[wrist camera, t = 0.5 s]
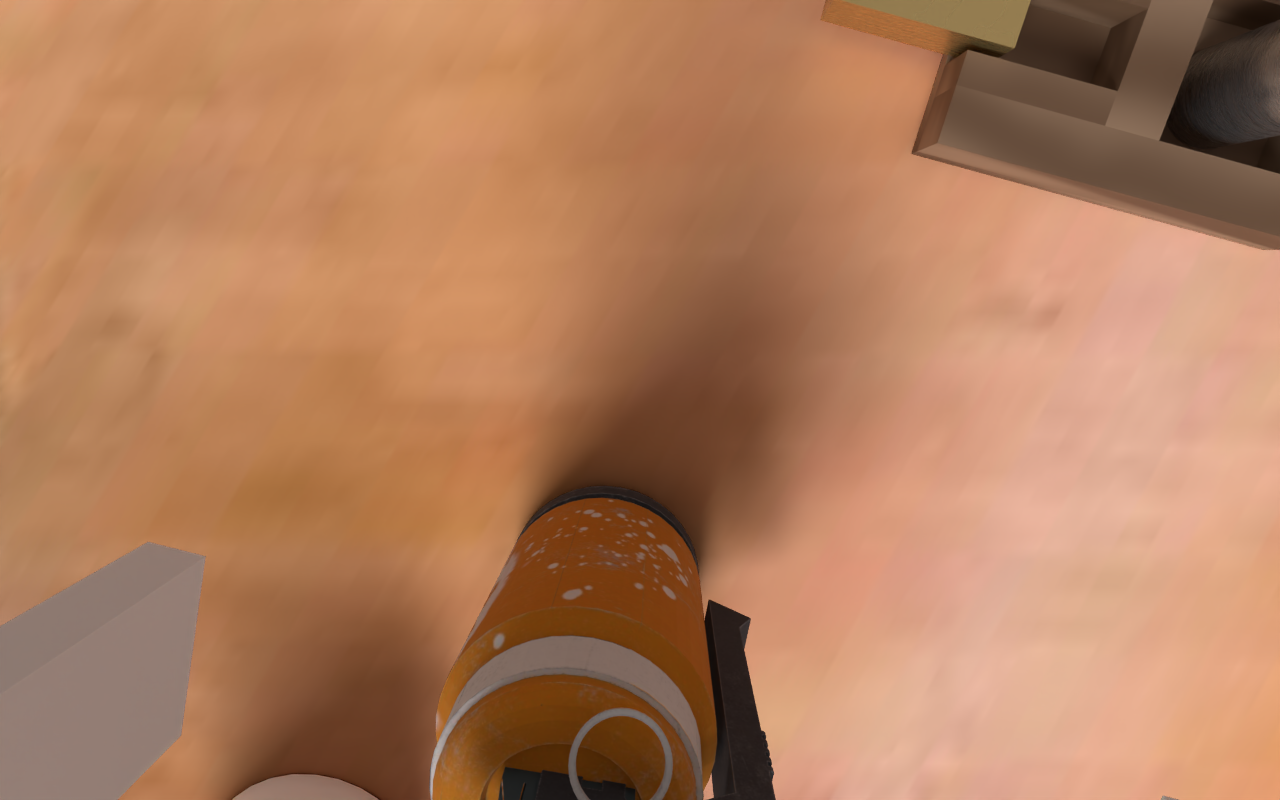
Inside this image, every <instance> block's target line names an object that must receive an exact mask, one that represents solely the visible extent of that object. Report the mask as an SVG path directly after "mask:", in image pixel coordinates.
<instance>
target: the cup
mask: <svg viewBox="0 0 1280 800" xmlns="http://www.w3.org/2000/svg"><path fill="white" fill-rule="evenodd" d="M232 800H379V799H377V798H376V797H374V796H373V795H371V794H369V793H368V792H366V791H365V790H363V789H361V788H359V787H357V786H354V785H352V784H349V783H347V782H344V781H342V780H339V779H335V778H330V777H325V776H320V775H312V774H291V775H285V776H280V777H274V778H270V779H267V780H265V781H262V782H260V783H257V784H255V785H252V786H250V787H249V788H247V789H246V790H245V791H243V792H242V793H240V794H239V795H237V796H236V797H234V798H233V799H232Z"/></svg>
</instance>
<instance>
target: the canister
mask: <svg viewBox="0 0 1280 800" xmlns="http://www.w3.org/2000/svg"><path fill="white" fill-rule="evenodd" d="M750 620H751V618H749V617H747V616H744V615H742V614H740V613H738V612H736V611H733V610H731V609H729V608H727V607H725V606H723V605H720V604H718V603H716V602H714V601H712V600H709V601H708V606H707V611H706V616H705V621H704V613H703V605H702V596H701V588H700V579H699V571H698V563H697V559H696V554H695V550H694V548H693V545H692V543H691V540H690V538H689V536H688V534H687V533H686V531H685V529H684V528H683V526H682V525H681V524H680V522H679V521H678V520H677V519H676V518H675V517H674V515H673V514H672V513H671V512H669V511H668V510H667V509H666V508H665V507H663V506H662V505H661V504H659V503H658V502H656V501H655V500H653V499H651V498H650V497H648V496H645V495H643V494H641V493H638V492H636V491H633V490H629V489H625V488H621V487H612V486H593V487H586V488H581V489H576V490H573V491H571V492H568V493H565V494H563V495H561V496H559V497H557V498H555V499H554V500H552V501H550V502H548V503H547V504H546V505H545V506H544V507H542V508H541V509H540V510H539V511H537V513H536V514H535V515H534V516H533V517H532V518H531V519H530V520H529V522H528V523H527V525H526V526H525V528H524V529H523V531H522V532H521V534H520V536H519V538H518V540H517V542H516V544H515V546H514V548H513V550H512V552H511V554H510V556H509V558H508V560H507V562H506V564H505V565H504V567H503V569H502V571H501V573H500V575H499V577H498V579H497V581H496V583H495V585H494V587H493V589H492V591H491V593H490V595H489V597H488V599H487V601H486V603H485V605H484V607H483V609H482V611H481V612H480V614H479V616H478V618H477V620H476V622H475V624H474V626H473V628H472V630H471V632H470V634H469V636H468V638H467V640H466V642H465V644H464V646H463V648H462V650H461V652H460V654H459V656H458V658H457V659H456V661H455V663H454V665H453V667H452V669H451V671H450V673H449V675H448V677H447V680H446V682H445V685H444V687H443V690H442V692H441V695H440V699H439V704H438V708H437V713H436V740H437V746H436V748H435V750H434V754H433V759H432V763H431V768H430V786H429V789H430V796H431V800H703V797H704V796H703V791H704V789H705V787H706V785H707V783H708V781H709V778H710V775H711V773H712V783H713V793H714V798H712V799H708V800H776V799H775V794H774V790H773V785H772V779H773V775H774V771H773V768H772V767H771V765H772V762H771V759H770V757H769V756H770V753H769V750H768V748H767V747H768V744H767V741H766V735H765V732H764V731H761V728H760V723H759V718H758V714H757V709H756V704H755V699H754V694H753V690H752V685H751V680H750V675H749V671H748V666H747V661H746V656H745V652H744V648H745V643H746V638H747V634H748V629H749V625H750Z"/></svg>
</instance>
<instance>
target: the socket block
mask: <svg viewBox="0 0 1280 800" xmlns="http://www.w3.org/2000/svg"><path fill="white" fill-rule="evenodd" d="M1278 20H1280V0H1031V1H1030V4H1029V7H1028V10H1027V13H1026V16H1025V19H1024V22H1023V25H1022V28H1021V31H1020V34H1019V37H1018V40H1017V43H1016V46H1015V48H1014V49H1013V50H1011V51H1009V52H1008V53H1006V54H1004V55H1002V56H1001V57H999V58H996V57H992V56H989V55H985V54H981V53H978V52H974V51H971V50H967V51H965V52H964V53H962V54H961V55H960V56H958V57H957V58H956V57H952V56H949V55H945V54H943V57H942V61H941V64H940V67H939V70H938V73H937V76H936V79H935V82H934V85H933V88H932V92H931V95H930V98H929V101H928V104H927V107H926V110H925V113H924V116H923V120H922V123H921V126H920V129H919V132H918V135H917V138H916V141H915V144H914V148H913V151H912V154H914V155H918V156H921V157H925V158H929V159H932V160H936V161H940V162H943V163H947V164H951V165H954V166H958V167H962V168H965V169H969V170H973V171H976V172H980V173H984V174H987V175H991V176H995V177H998V178H1002V179H1006V180H1009V181H1013V182H1017V183H1020V184H1024V185H1028V186H1031V187H1035V188H1039V189H1042V190H1046V191H1050V192H1053V193H1057V194H1061V195H1064V196H1068V197H1072V198H1075V199H1079V200H1083V201H1086V202H1090V203H1094V204H1097V205H1101V206H1105V207H1108V208H1112V209H1116V210H1119V211H1123V212H1127V213H1130V214H1134V215H1138V216H1141V217H1145V218H1149V219H1152V220H1156V221H1160V222H1163V223H1167V224H1171V225H1174V226H1178V227H1182V228H1185V229H1189V230H1193V231H1196V232H1200V233H1204V234H1207V235H1211V236H1215V237H1218V238H1222V239H1226V240H1229V241H1233V242H1237V243H1240V244H1244V245H1248V246H1251V247H1255V248H1259V249H1262V250H1280V135H1279V136H1273V137H1268V138H1263V139H1258V140H1253V141H1248V142H1243V143H1238V144H1233V145H1228V146H1223V147H1218V148H1213V149H1198V148H1193V147H1191V146H1188V145H1186V144H1184V143H1182V142H1181V141H1179V140H1178V139H1177V138H1176V137H1175V136H1174V135H1173V134H1172V132H1171V131H1170V129H1169V128H1168V126H1167V123H1166V122H1167V119H1168V117H1169V114H1170V111H1171V109H1172V106H1173V104H1174V101H1175V99H1176V96H1177V93H1178V91H1179V88H1180V86H1181V83H1182V80H1183V78H1184V75H1185V73H1186V70H1187V67H1188V65H1189V62H1190V60H1191V57H1192V55H1193V54H1194V53H1196V52H1198V51H1200V50H1203V49H1205V48H1208V47H1210V46H1213V45H1215V44H1218V43H1221V42H1223V41H1226V40H1228V39H1231V38H1234V37H1236V36H1239V35H1241V34H1244V33H1247V32H1249V31H1252V30H1254V29H1257V28H1259V27H1262V26H1265V25H1267V24H1270V23H1272V22H1275V21H1278Z"/></svg>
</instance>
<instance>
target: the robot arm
mask: <svg viewBox="0 0 1280 800" xmlns="http://www.w3.org/2000/svg"><path fill="white" fill-rule="evenodd" d="M205 557H206V556H202V555H198V554H194V553H190V552H186V551H182V550H178V549H174V548H170V547H166V546H162V545H158V544H154V543H150V542H147V543H145V544H144V545H142V546H140V547H138V548H137V549H135V550H133V551H131V552H130V553H128V554H126V555H124V556H122V557H121V558H119V559H117V560H115V561H114V562H112V563H110V564H108V565H107V566H105V567H103V568H101V569H100V570H98V571H96V572H94V573H93V574H91V575H89V576H87V577H86V578H84V579H82V580H80V581H79V582H77V583H75V584H73V585H72V586H70V587H68V588H66V589H65V590H63V591H61V592H59V593H58V594H56V595H54V596H52V597H51V598H49V599H47V600H45V601H44V602H42V603H40V604H38V605H37V606H35V607H33V608H31V609H29V610H28V611H26V612H24V613H22V614H21V615H19V616H17V617H15V618H14V619H12V620H10V621H8V622H7V623H5V624H3V625H1V626H0V800H118V799H119V798H120V797H121V796H122V795H123V794H124V793H125V792H126V790H127V789H128V788H129V787H130V786H131V785H132V784H133V783H134V782H135V781H136V780H137V779H138V778H139V777H140V776H141V775H142V774H143V773H144V772H145V771H146V770H147V769H148V768H149V767H150V766H151V765H152V764H153V763H154V762H155V761H156V760H157V759H158V758H159V757H160V756H161V755H162V754H163V753H164V752H165V751H166V750H167V749H168V748H169V747H170V746H171V745H172V744H173V743H174V742H175V741H176V740H177V739H178V738H179V737H180V736H181V732H182V725H183V717H184V710H185V703H186V695H187V688H188V681H189V673H190V666H191V659H192V652H193V644H194V637H195V630H196V622H197V615H198V608H199V601H200V593H201V586H202V579H203V571H204V564H205ZM1161 800H1178V799H1174V798H1170V797H1166V796H1162V799H1161Z"/></svg>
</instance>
